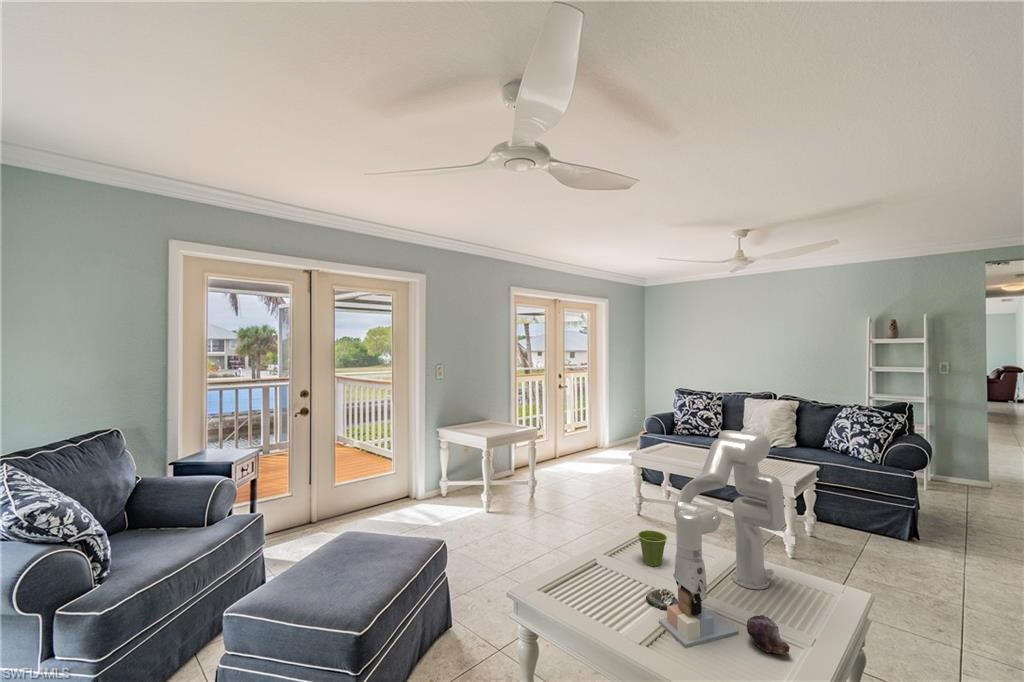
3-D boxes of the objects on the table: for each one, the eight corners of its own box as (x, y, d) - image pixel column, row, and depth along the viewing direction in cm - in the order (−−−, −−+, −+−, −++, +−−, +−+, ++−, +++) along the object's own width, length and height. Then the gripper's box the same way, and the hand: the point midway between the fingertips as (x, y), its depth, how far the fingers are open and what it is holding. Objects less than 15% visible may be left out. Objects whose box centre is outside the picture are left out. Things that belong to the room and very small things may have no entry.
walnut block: (691, 604, 149) (690, 586, 149) (701, 613, 144) (701, 594, 144) (678, 607, 147) (677, 588, 147) (688, 616, 142) (688, 596, 142)
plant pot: (671, 569, 185) (671, 541, 185) (642, 569, 185) (642, 541, 185) (662, 556, 197) (662, 529, 197) (634, 556, 197) (634, 529, 197)
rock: (771, 639, 142) (739, 639, 142) (768, 610, 144) (737, 610, 144) (795, 659, 131) (760, 659, 131) (792, 626, 132) (758, 626, 132)
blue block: (702, 624, 147) (702, 609, 147) (713, 633, 142) (713, 617, 142) (690, 627, 145) (690, 612, 145) (701, 636, 141) (700, 620, 141)
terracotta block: (679, 618, 150) (679, 603, 150) (689, 627, 146) (689, 611, 146) (667, 621, 149) (667, 606, 149) (676, 630, 144) (676, 614, 144)
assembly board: (708, 611, 156) (708, 608, 156) (738, 634, 143) (738, 631, 143) (658, 622, 149) (658, 619, 149) (685, 647, 137) (685, 644, 137)
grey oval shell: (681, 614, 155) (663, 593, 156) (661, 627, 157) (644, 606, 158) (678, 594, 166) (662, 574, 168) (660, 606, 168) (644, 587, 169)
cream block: (689, 627, 145) (689, 612, 145) (700, 636, 141) (700, 620, 141) (677, 630, 144) (677, 615, 144) (687, 639, 139) (687, 623, 139)
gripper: (718, 561, 139) (719, 622, 139) (681, 539, 155) (682, 593, 155) (698, 565, 136) (698, 626, 136) (662, 542, 153) (663, 597, 153)
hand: (689, 608), depth 146 cm, fingers closed on walnut block, 5 cm apart
